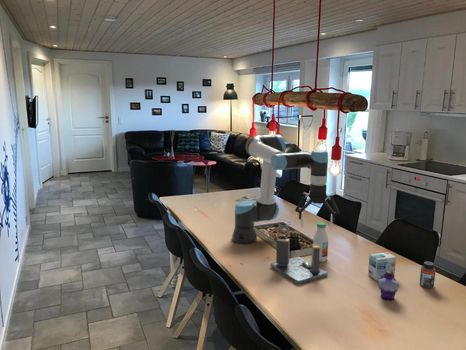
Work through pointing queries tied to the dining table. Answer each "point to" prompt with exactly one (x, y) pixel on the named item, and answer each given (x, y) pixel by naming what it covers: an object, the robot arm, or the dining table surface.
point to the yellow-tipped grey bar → (282, 252)
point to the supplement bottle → (427, 275)
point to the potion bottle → (388, 286)
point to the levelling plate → (299, 271)
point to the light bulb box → (381, 265)
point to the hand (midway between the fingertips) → (316, 227)
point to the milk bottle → (321, 241)
